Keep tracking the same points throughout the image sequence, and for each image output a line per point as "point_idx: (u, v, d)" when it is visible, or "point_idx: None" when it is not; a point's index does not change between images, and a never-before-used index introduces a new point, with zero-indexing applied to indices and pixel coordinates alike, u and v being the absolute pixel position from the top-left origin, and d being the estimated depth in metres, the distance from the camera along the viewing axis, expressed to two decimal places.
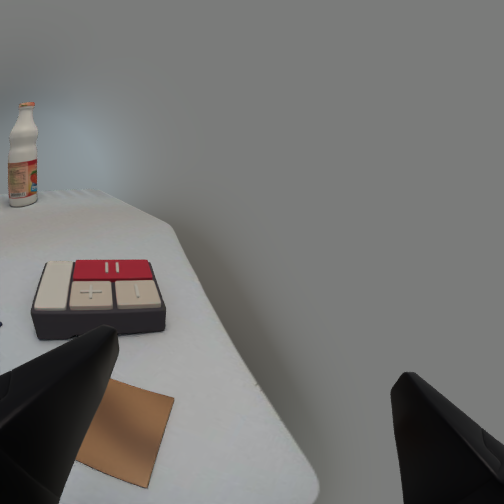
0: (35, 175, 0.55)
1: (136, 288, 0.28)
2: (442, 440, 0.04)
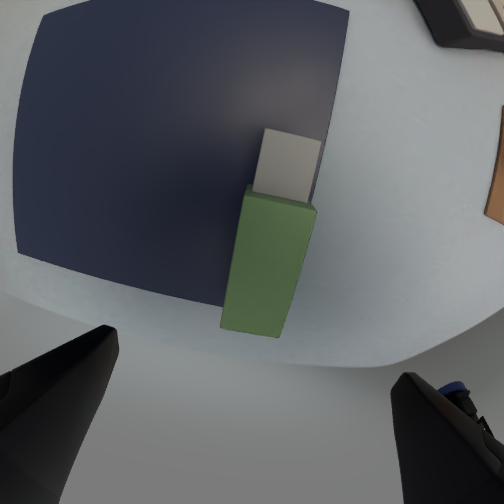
0: None
1: None
2: (442, 440, 0.04)
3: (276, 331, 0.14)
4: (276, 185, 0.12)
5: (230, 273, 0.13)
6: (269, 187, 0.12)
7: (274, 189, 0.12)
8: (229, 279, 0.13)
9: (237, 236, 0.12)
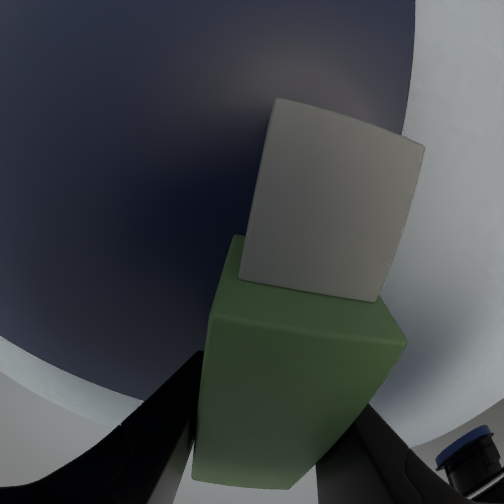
0: None
1: None
2: (352, 455, 0.04)
3: (285, 486, 0.06)
4: (305, 264, 0.04)
5: (197, 439, 0.05)
6: (285, 269, 0.05)
7: (299, 274, 0.05)
8: (196, 445, 0.05)
9: (202, 395, 0.04)
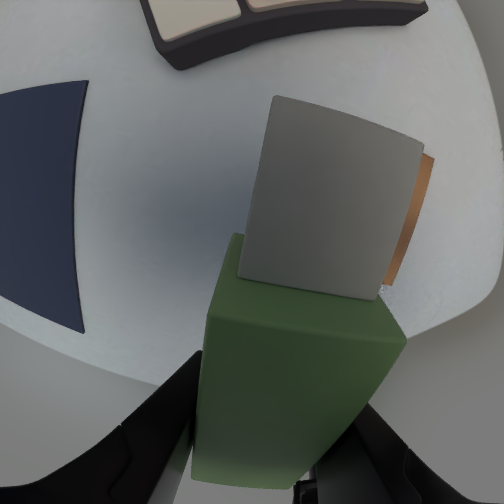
0: None
1: None
2: (352, 455, 0.04)
3: (285, 486, 0.06)
4: (303, 262, 0.04)
5: (196, 438, 0.05)
6: (284, 267, 0.05)
7: (297, 272, 0.05)
8: (195, 444, 0.05)
9: (201, 394, 0.04)
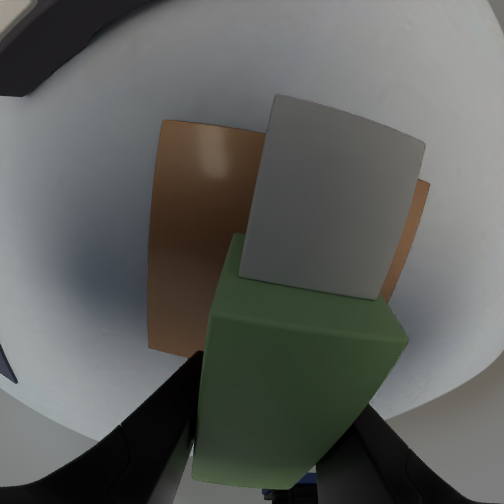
0: None
1: None
2: (352, 456, 0.04)
3: (286, 486, 0.06)
4: (305, 261, 0.04)
5: (197, 438, 0.05)
6: (286, 266, 0.05)
7: (299, 271, 0.05)
8: (196, 444, 0.05)
9: (202, 394, 0.04)
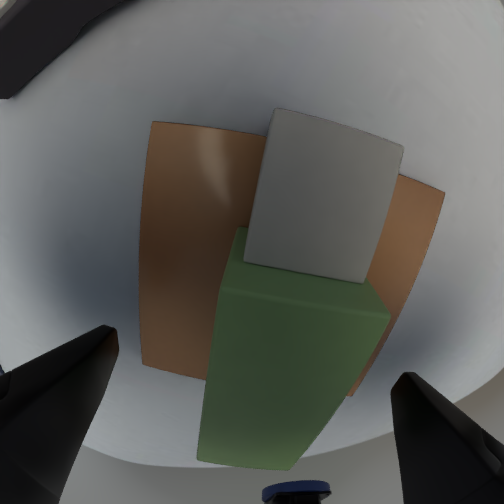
0: None
1: None
2: (442, 440, 0.04)
3: (286, 466, 0.07)
4: (300, 248, 0.05)
5: (204, 413, 0.06)
6: (283, 252, 0.05)
7: (295, 257, 0.05)
8: (203, 420, 0.06)
9: (211, 365, 0.05)
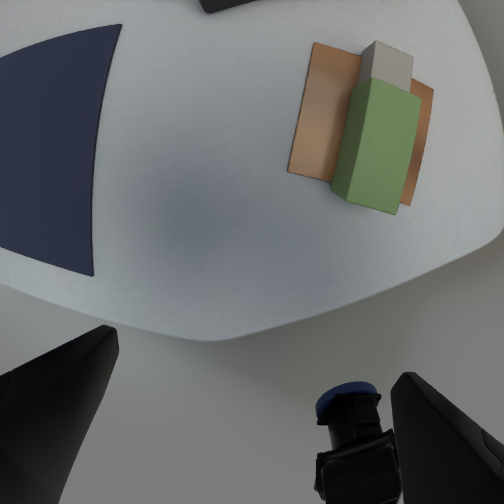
0: None
1: None
2: (442, 440, 0.04)
3: (394, 206, 0.13)
4: (387, 80, 0.12)
5: (361, 140, 0.12)
6: (382, 81, 0.12)
7: (386, 83, 0.12)
8: (359, 146, 0.12)
9: (367, 107, 0.12)
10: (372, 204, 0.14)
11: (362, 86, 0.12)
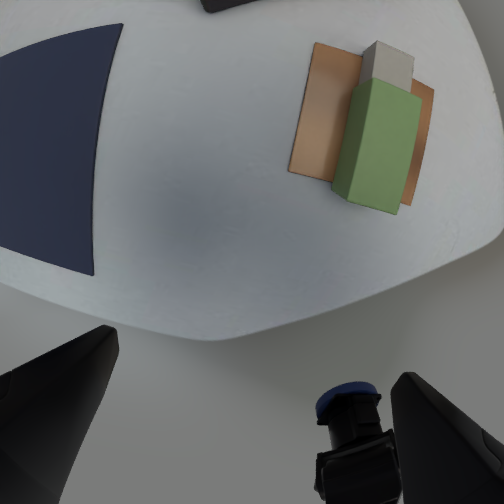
0: None
1: None
2: (442, 440, 0.04)
3: (395, 206, 0.13)
4: (388, 80, 0.12)
5: (362, 140, 0.12)
6: (383, 81, 0.12)
7: (386, 83, 0.12)
8: (360, 146, 0.12)
9: (368, 107, 0.12)
10: (373, 204, 0.14)
11: (363, 86, 0.12)
